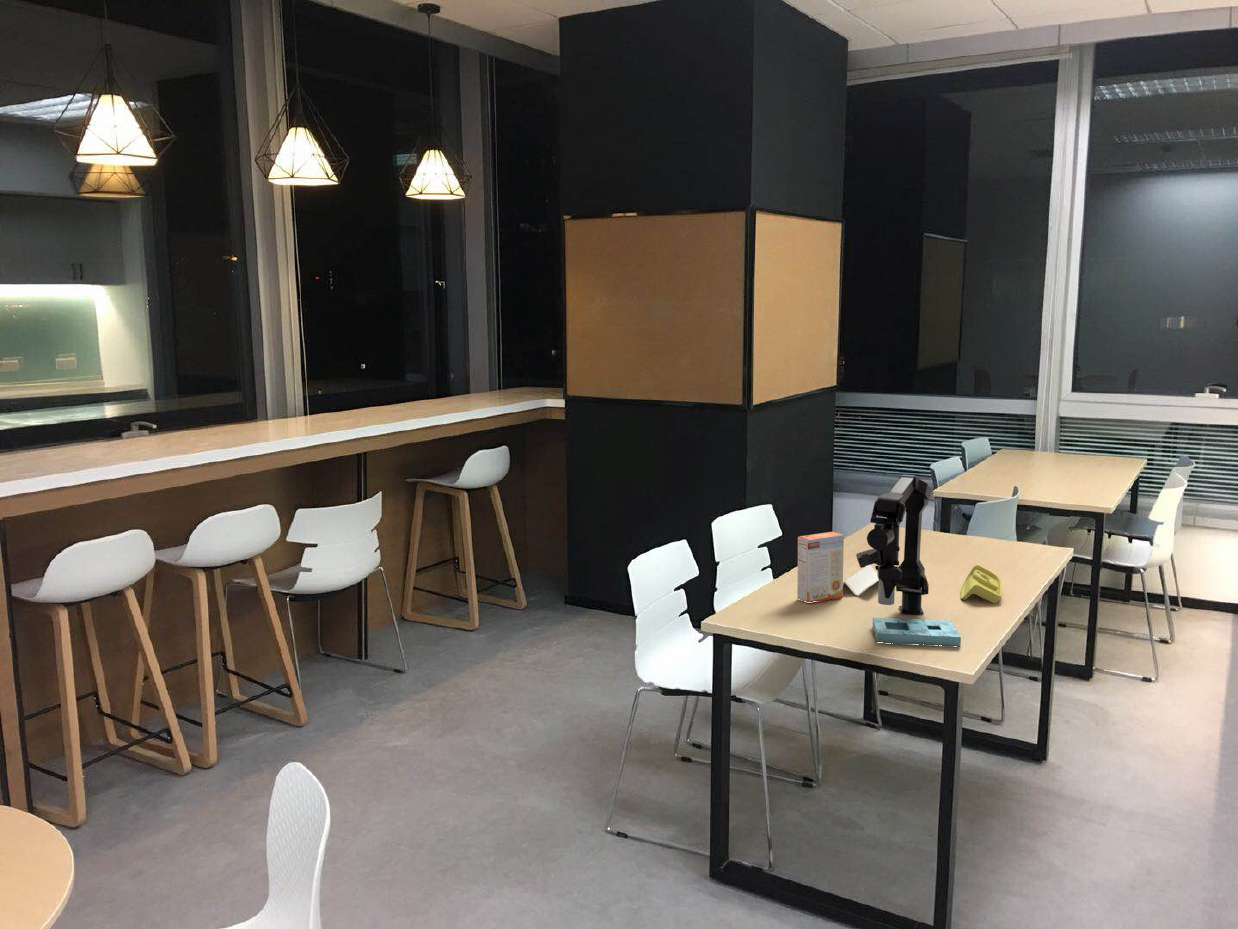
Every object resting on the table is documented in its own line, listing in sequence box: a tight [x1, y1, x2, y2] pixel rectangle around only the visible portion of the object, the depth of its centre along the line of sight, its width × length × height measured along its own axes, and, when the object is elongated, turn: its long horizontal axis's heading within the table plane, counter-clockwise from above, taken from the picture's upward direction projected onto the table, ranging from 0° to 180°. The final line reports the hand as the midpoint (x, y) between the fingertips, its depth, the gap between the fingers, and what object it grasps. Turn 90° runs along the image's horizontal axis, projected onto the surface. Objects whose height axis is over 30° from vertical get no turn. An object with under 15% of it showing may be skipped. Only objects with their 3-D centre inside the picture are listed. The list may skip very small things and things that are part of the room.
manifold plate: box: [872, 616, 962, 648], centre depth 273 cm, size 14×22×3 cm, turn 81°
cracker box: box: [796, 531, 845, 602], centre depth 307 cm, size 14×6×21 cm, turn 115°
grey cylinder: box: [877, 579, 896, 606], centre depth 272 cm, size 4×4×8 cm
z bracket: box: [843, 564, 879, 597], centre depth 323 cm, size 12×25×6 cm
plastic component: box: [960, 564, 1003, 604], centre depth 313 cm, size 20×7×10 cm
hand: (886, 595), depth 273 cm, fingers closed on grey cylinder, 4 cm apart
